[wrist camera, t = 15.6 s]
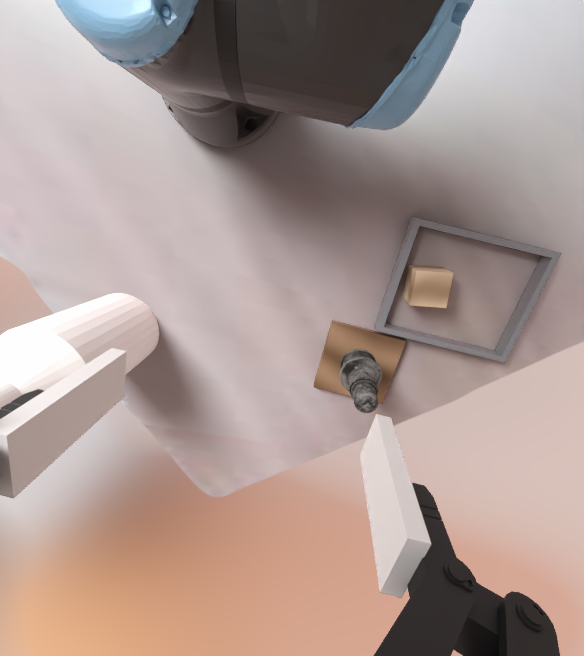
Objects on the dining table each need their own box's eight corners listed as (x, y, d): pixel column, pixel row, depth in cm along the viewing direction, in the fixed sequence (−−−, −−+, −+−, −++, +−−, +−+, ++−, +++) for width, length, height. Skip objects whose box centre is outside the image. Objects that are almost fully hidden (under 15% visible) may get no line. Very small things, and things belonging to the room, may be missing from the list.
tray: (411, 217, 42) (415, 217, 40) (551, 251, 42) (561, 253, 40) (374, 326, 47) (376, 330, 46) (497, 356, 47) (504, 362, 45)
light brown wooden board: (332, 320, 48) (332, 323, 47) (404, 338, 48) (406, 341, 47) (314, 383, 52) (313, 387, 50) (380, 400, 51) (381, 404, 50)
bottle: (76, 328, 52) (-124, 422, 29) (113, 275, 49) (-83, 334, 25) (136, 374, 54) (-7, 497, 31) (175, 327, 51) (46, 426, 27)
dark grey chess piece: (375, 383, 49) (390, 434, 38) (337, 380, 50) (340, 429, 38) (380, 348, 47) (397, 390, 36) (340, 345, 48) (344, 386, 36)
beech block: (407, 265, 44) (416, 270, 40) (441, 267, 44) (453, 273, 40) (402, 296, 46) (410, 305, 42) (435, 299, 45) (446, 308, 41)
